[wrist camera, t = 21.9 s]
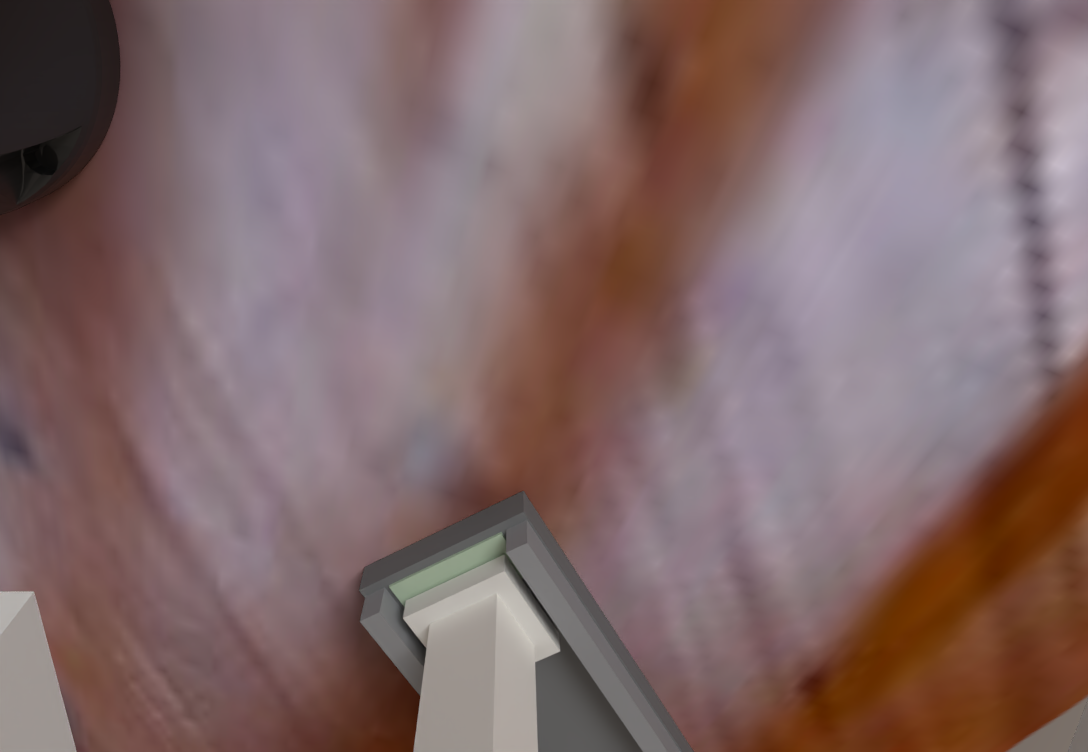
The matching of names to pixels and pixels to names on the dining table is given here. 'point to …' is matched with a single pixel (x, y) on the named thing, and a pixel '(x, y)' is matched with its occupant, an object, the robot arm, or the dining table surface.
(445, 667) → the switch lever
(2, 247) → the dining table surface
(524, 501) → the switch base
